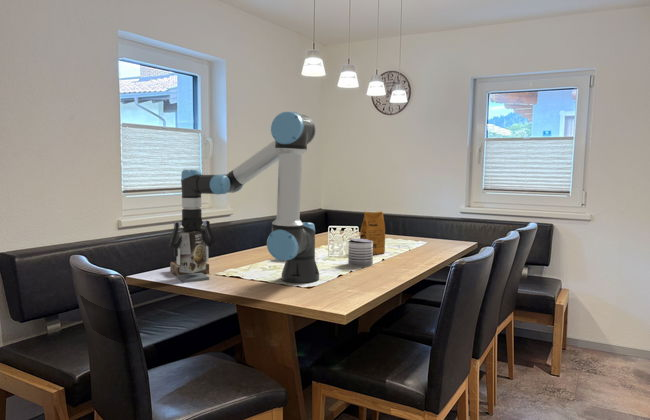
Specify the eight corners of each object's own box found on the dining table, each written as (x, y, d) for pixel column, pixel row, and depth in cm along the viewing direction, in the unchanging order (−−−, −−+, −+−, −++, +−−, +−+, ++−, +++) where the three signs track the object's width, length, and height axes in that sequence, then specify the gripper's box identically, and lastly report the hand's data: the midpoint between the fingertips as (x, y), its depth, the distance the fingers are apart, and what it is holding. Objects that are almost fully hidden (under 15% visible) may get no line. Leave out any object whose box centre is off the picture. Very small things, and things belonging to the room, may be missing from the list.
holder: (209, 273, 205) (209, 264, 205) (178, 277, 198) (177, 267, 198) (200, 268, 216) (199, 259, 216) (170, 271, 209) (170, 262, 209)
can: (348, 262, 231) (348, 237, 230) (372, 262, 231) (372, 237, 230) (348, 266, 220) (348, 240, 219) (373, 267, 219) (373, 240, 218)
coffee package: (357, 252, 259) (358, 211, 257) (379, 251, 262) (379, 210, 260) (364, 255, 249) (364, 212, 247) (386, 254, 253) (387, 212, 251)
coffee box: (192, 273, 190) (191, 232, 189) (179, 272, 192) (178, 232, 191) (206, 269, 198) (205, 230, 197) (193, 267, 201) (192, 229, 199)
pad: (209, 279, 194) (209, 277, 194) (184, 282, 189) (183, 280, 189) (201, 274, 202) (201, 272, 202) (177, 277, 197) (177, 275, 197)
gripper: (216, 206, 202) (217, 258, 204) (159, 208, 190) (161, 264, 192) (222, 207, 196) (223, 261, 198) (164, 210, 184) (165, 267, 186)
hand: (192, 263), depth 195 cm, fingers closed on coffee box, 11 cm apart
